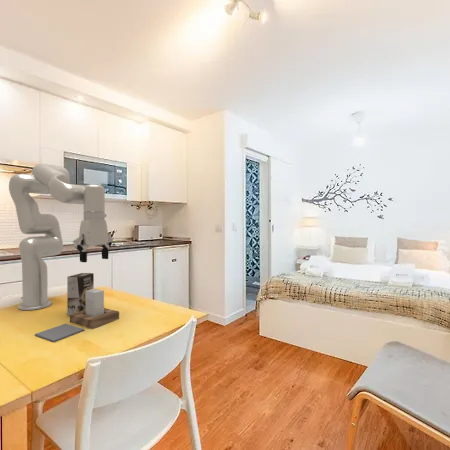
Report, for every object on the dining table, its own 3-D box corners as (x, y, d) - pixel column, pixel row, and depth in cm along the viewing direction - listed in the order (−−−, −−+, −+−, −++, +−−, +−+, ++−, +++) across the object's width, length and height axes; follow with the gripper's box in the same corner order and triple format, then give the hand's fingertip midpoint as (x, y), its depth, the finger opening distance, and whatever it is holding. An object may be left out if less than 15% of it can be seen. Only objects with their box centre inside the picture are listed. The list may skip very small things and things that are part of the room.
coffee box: (80, 316, 118) (80, 277, 118) (66, 315, 120) (66, 276, 119) (94, 309, 127) (94, 272, 127) (81, 308, 128) (81, 272, 128)
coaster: (34, 335, 99) (34, 333, 99) (65, 325, 108) (65, 323, 108) (54, 342, 93) (54, 340, 93) (84, 330, 103) (84, 329, 103)
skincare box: (104, 320, 114) (104, 290, 113) (94, 323, 110) (94, 292, 110) (94, 317, 117) (94, 288, 116) (85, 320, 113) (84, 290, 113)
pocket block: (69, 322, 111) (69, 314, 111) (96, 313, 122) (96, 306, 122) (92, 328, 105) (92, 320, 105) (119, 318, 115) (119, 311, 115)
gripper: (106, 216, 121) (106, 257, 122) (67, 216, 106) (67, 262, 107) (118, 216, 118) (119, 258, 118) (80, 216, 103) (80, 264, 103)
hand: (94, 260), depth 112 cm, fingers open, 9 cm apart
